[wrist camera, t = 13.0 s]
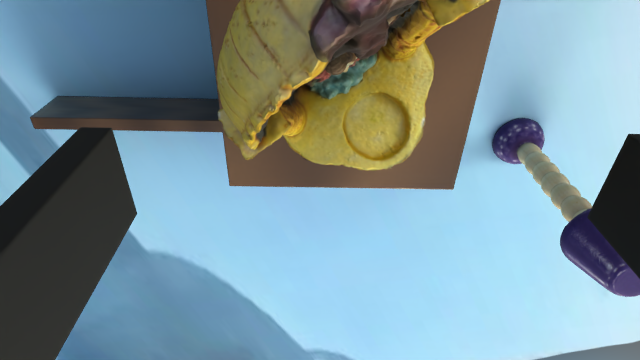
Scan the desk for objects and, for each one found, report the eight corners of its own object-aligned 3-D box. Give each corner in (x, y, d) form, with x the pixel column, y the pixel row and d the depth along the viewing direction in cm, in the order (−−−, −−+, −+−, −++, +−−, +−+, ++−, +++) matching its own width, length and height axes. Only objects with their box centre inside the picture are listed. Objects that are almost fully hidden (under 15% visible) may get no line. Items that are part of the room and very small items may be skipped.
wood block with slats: (61, 106, 35) (-31, 182, 26) (-42, -176, 24) (-255, -217, 15) (418, 113, 35) (453, 189, 26) (465, -163, 25) (550, -195, 16)
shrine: (229, -70, 18) (30, 7, 6) (418, -118, 17) (681, -153, 5) (294, 152, 24) (266, 418, 12) (433, 127, 23) (561, 387, 11)
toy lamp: (481, 130, 36) (582, 276, 22) (534, 100, 34) (677, 238, 21) (503, 167, 38) (607, 322, 24) (553, 141, 36) (694, 290, 23)
